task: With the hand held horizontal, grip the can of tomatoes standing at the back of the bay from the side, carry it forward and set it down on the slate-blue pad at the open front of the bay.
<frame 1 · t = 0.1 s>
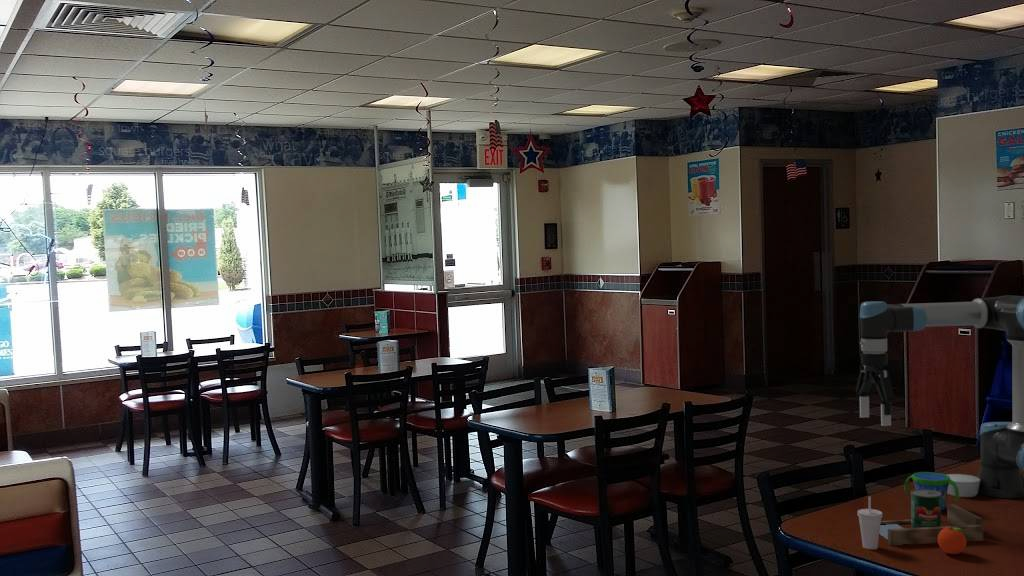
hand: (875, 421, 274), 28 cm above the table, tool pointing down, fingers open, 13 cm apart
canned tomato: (925, 531, 256), on the table
clementine: (953, 554, 237), on the table
snack cup: (931, 509, 277), on the table
front pad: (894, 533, 254), on the table
smoothie: (870, 547, 243), on the table
ramekin: (960, 494, 292), on the table
bay: (921, 531, 255), on the table
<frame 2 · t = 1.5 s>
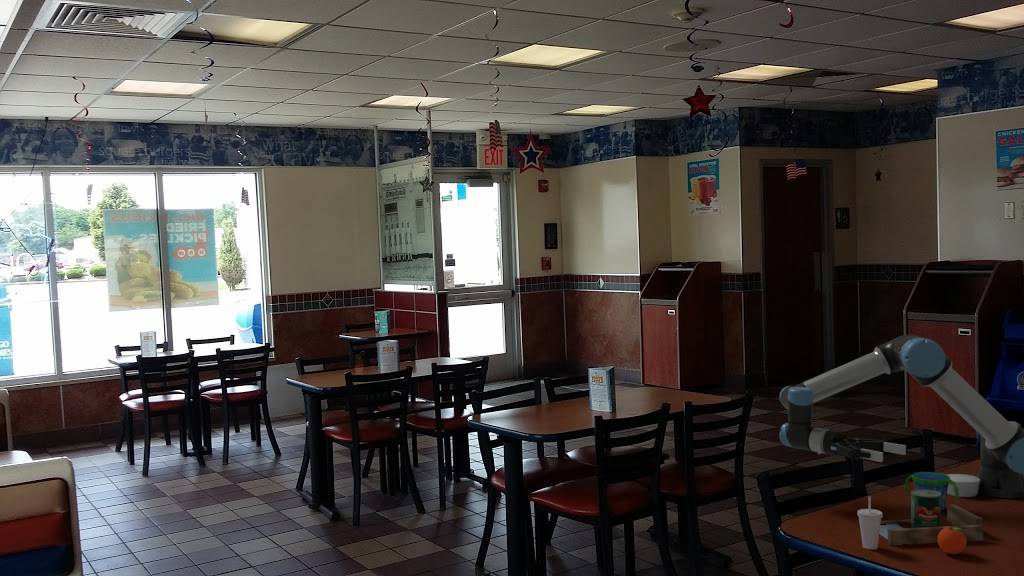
hand: (894, 453, 262), 21 cm above the table, tool horizontal, fingers open, 13 cm apart
nothing on the table moved.
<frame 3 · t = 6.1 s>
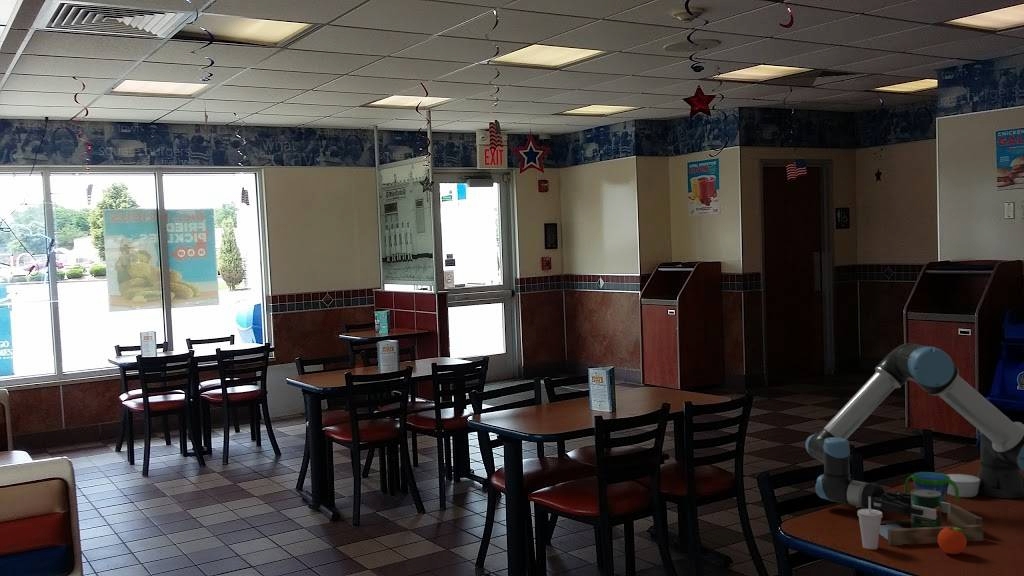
hand: (942, 511, 252), 7 cm above the table, tool horizontal, fingers closed on canned tomato, 8 cm apart
canned tomato: (925, 531, 256), on the table, touching gripper
everything else where it was.
when the fingers open (8 cm above the table, at t = 10.9 s): canned tomato stays where it is, resting on front pad.
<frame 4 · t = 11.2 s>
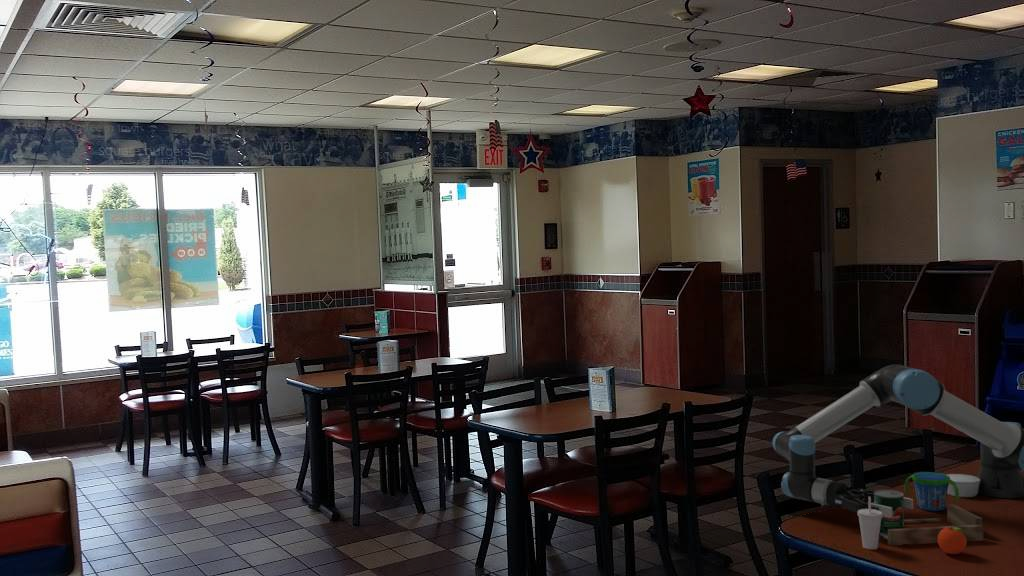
hand: (902, 508, 252), 8 cm above the table, tool horizontal, fingers open, 11 cm apart
canned tomato: (888, 531, 255), resting on front pad
everything else where it was.
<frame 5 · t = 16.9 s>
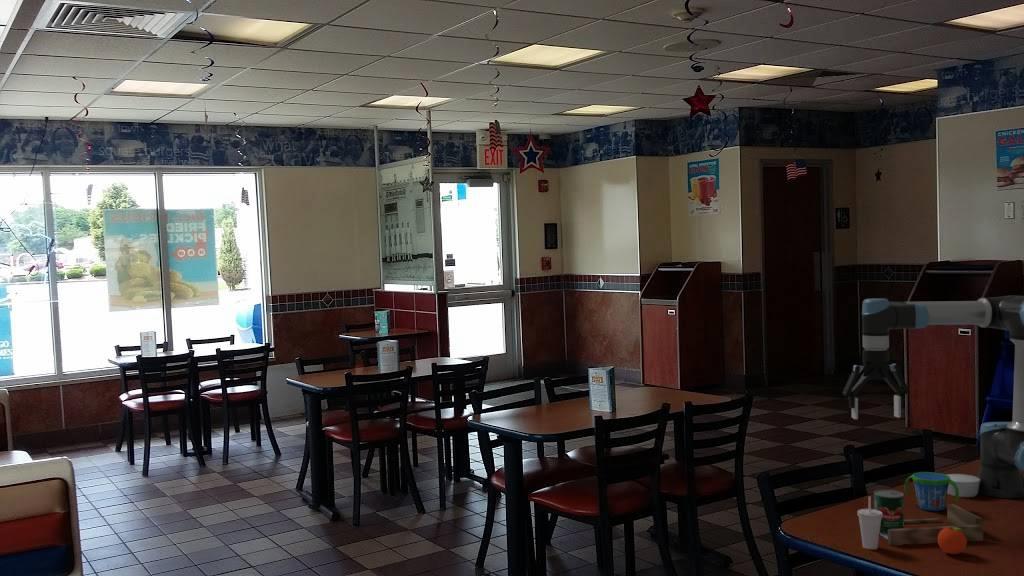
hand: (876, 417, 275), 29 cm above the table, tool pointing down, fingers open, 13 cm apart
nothing on the table moved.
at the end: canned tomato inside the target area (1.3 cm from its centre), resting on front pad; canned tomato tilted 0°; the gripper is holding nothing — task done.
